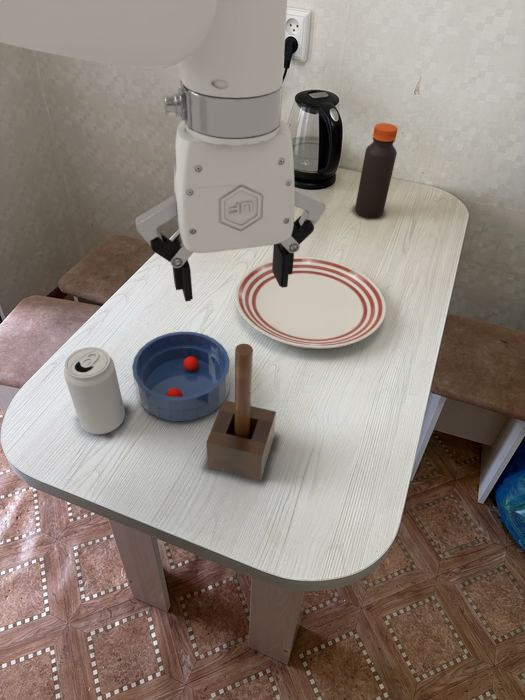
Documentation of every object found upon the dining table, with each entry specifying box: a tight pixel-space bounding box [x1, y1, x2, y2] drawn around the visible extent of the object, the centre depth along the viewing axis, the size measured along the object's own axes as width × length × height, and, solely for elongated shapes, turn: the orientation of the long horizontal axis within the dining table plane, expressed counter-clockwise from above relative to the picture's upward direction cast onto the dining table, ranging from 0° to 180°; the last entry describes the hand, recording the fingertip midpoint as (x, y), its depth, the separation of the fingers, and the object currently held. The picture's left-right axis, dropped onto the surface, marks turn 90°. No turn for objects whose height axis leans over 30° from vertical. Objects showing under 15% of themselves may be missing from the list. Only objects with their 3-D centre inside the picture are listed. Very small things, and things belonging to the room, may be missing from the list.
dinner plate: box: [234, 256, 387, 350], centre depth 93 cm, size 27×27×3 cm
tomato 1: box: [166, 388, 183, 397], centre depth 75 cm, size 2×2×2 cm
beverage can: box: [63, 346, 126, 435], centre depth 69 cm, size 6×6×12 cm
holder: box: [206, 399, 277, 482], centre depth 68 cm, size 7×7×6 cm
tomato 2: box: [183, 356, 199, 371], centre depth 80 cm, size 2×2×2 cm
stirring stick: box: [234, 343, 254, 439], centre depth 63 cm, size 2×2×20 cm
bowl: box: [131, 331, 231, 422], centre depth 77 cm, size 14×14×6 cm
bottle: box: [354, 122, 399, 219], centre depth 115 cm, size 7×7×20 cm
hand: (234, 286), depth 51 cm, fingers open, 9 cm apart
